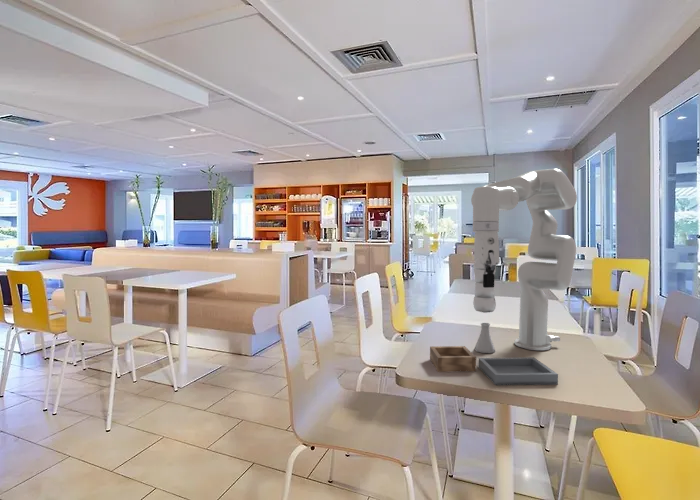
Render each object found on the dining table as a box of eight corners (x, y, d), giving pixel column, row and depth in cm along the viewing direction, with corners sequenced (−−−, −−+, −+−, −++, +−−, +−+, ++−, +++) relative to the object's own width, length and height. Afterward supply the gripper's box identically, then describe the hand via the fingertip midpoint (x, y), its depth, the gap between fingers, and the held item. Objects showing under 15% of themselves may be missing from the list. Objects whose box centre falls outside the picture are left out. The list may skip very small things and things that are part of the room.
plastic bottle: (492, 315, 118) (493, 249, 116) (470, 312, 122) (471, 248, 120) (498, 311, 123) (499, 247, 121) (476, 308, 127) (477, 247, 125)
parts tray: (533, 366, 126) (534, 357, 126) (557, 384, 112) (558, 374, 112) (478, 367, 126) (478, 358, 126) (495, 385, 112) (495, 375, 112)
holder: (464, 359, 133) (464, 346, 133) (475, 371, 122) (476, 357, 122) (429, 359, 133) (430, 346, 133) (437, 371, 122) (438, 357, 122)
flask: (495, 348, 144) (495, 321, 144) (495, 355, 137) (496, 327, 137) (474, 346, 147) (475, 320, 146) (473, 352, 140) (474, 325, 139)
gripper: (509, 227, 112) (507, 290, 113) (488, 226, 129) (487, 280, 130) (482, 228, 112) (481, 290, 113) (465, 226, 129) (464, 281, 130)
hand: (484, 284), depth 122 cm, fingers closed on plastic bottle, 6 cm apart
